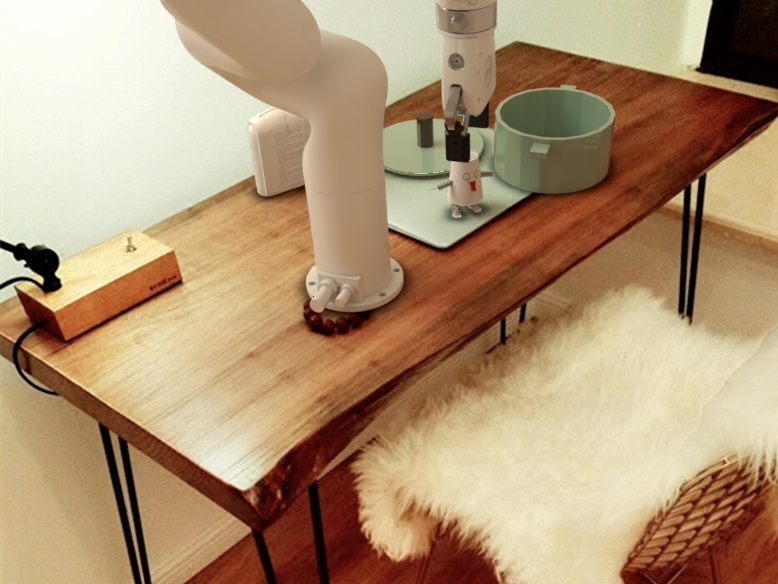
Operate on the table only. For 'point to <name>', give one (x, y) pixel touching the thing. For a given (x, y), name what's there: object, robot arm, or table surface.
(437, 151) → the lid
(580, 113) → the pot
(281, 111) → the photo printer
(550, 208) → the table surface
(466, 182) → the toy figure
